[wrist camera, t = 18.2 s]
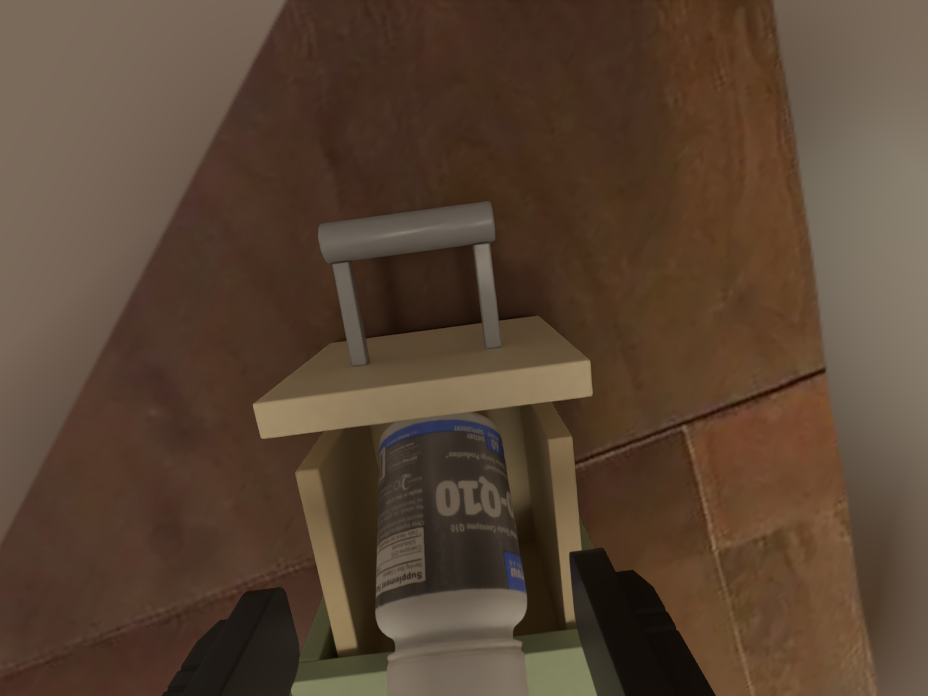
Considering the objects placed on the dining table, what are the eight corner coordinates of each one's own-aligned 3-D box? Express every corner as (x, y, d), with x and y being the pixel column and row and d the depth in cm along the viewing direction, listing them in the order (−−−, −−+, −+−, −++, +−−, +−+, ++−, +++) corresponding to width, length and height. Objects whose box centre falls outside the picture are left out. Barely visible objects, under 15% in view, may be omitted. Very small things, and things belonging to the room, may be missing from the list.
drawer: (307, 235, 21) (207, 229, 13) (528, 205, 21) (578, 178, 13) (373, 561, 25) (331, 725, 17) (560, 537, 25) (614, 690, 17)
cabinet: (356, 505, 25) (288, 683, 15) (562, 478, 25) (636, 641, 15) (396, 698, 28) (361, 958, 18) (580, 676, 28) (652, 924, 18)
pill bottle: (525, 425, 18) (579, 694, 13) (447, 468, 20) (466, 705, 15) (429, 390, 15) (449, 714, 10) (354, 445, 18) (340, 724, 13)
